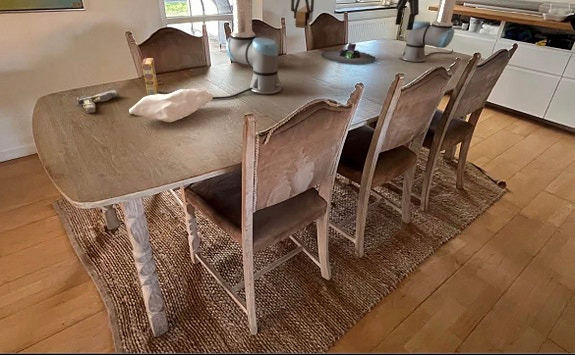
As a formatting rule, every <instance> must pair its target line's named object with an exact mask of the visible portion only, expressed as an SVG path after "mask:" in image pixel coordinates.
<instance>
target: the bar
mask: <svg viewBox="0 0 575 355" xmlns="http://www.w3.org/2000/svg"><path fill="white" fill-rule="evenodd" d="M309 7H310V10H311V5H309ZM306 13H307V8H306V4H305V5H303V7H301V8H298V9H297V12H296V19H295V23H296V25H295V28H299V29H300V28H301V29H305V28H306V27H307V26H309V25H310V23H312V22H313V17H314V16H313V15H314V11H313V12H312V13H310V19H309V20H308V24H307V26H305V22H306Z"/></svg>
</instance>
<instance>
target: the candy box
mask: <svg viewBox="0 0 575 355" xmlns="http://www.w3.org/2000/svg"><path fill="white" fill-rule="evenodd" d="M141 66H142V73H143V78H144V82H145V87H146V92H147V96H150V95H156V94H159V91H160V90H159V84H158V79H157V73H156V66H155V62H154V58H153V57H151V58H150V57H149V58H146V57H145V58H143V60H142V63H141Z"/></svg>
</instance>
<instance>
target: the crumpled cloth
mask: <svg viewBox="0 0 575 355" xmlns="http://www.w3.org/2000/svg"><path fill="white" fill-rule="evenodd" d="M213 97H214V96H213V94H212V93H210V92H208V91H206V90H203V89H201V88H187V89H186V88H185V89H184V88H183V89H177V90H175V91H173V92H171V93H167V94H163V93H158V94H156V95H150V96H148V95H146V96H144V97H142V98H141V99H140V100H139V101H138V102H137V103H136V104H134V105H133V106H132V107H131V108H129V115H130V114H134V115H133V116H140V117H145V118H146V119H149V120H152V121H155V120H158V121H163V122H166V123H174V122H176V121H178V120H181V119H183V118H185V117H188V116H190V115H192V114H193V113H195V112H196V111H197V110H199V109H200V108H202V107H204V106H206V105H207V104H210V102H211V101H212V100H213V99H212V98H213Z"/></svg>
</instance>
